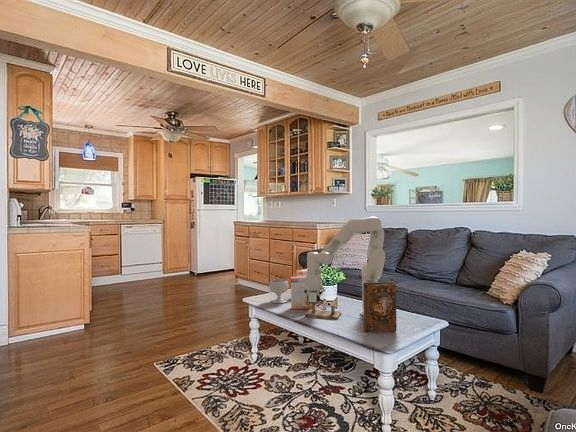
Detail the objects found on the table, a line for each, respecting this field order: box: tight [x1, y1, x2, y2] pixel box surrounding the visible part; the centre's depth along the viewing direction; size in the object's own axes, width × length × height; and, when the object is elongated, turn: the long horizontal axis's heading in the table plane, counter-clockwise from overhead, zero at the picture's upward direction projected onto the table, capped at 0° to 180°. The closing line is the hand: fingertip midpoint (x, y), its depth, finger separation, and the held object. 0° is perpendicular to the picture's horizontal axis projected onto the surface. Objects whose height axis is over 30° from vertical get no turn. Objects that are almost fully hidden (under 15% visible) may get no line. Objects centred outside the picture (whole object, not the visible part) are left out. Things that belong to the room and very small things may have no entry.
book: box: [363, 282, 398, 334], centre depth 185 cm, size 16×6×25 cm, turn 92°
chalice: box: [268, 278, 290, 304], centre depth 249 cm, size 14×14×15 cm
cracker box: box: [290, 275, 312, 311], centre depth 230 cm, size 14×6×21 cm, turn 84°
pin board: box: [304, 304, 342, 321], centre depth 214 cm, size 20×12×6 cm, turn 70°
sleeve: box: [308, 291, 319, 305], centre depth 216 cm, size 5×5×7 cm
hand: (313, 301), depth 216 cm, fingers closed on sleeve, 5 cm apart
